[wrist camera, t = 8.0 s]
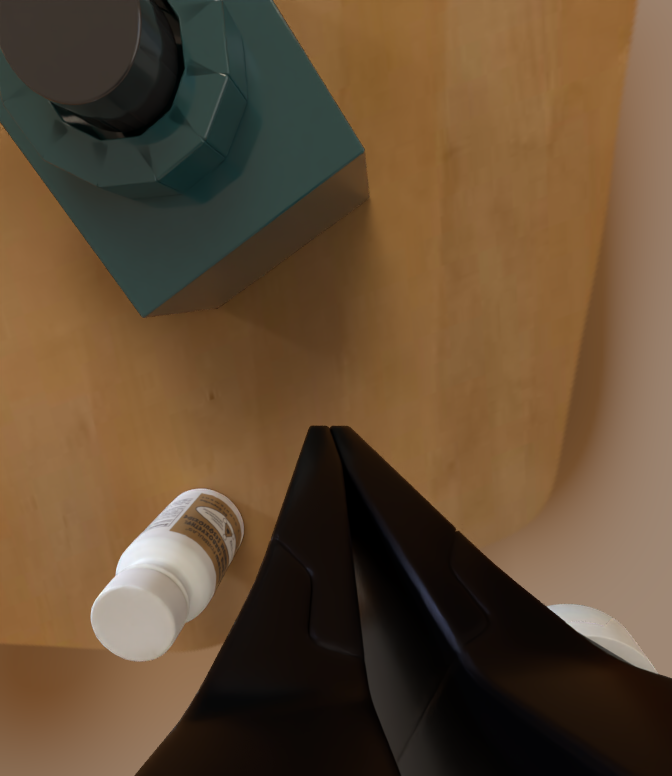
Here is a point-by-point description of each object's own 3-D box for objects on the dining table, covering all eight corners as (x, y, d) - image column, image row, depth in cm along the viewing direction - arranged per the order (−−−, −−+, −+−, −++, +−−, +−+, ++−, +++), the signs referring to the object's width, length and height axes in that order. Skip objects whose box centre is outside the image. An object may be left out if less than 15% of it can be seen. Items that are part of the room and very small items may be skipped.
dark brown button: (205, 76, 12) (171, 35, 10) (108, 160, 13) (58, 137, 11) (123, -50, 12) (71, -119, 10) (27, 44, 12) (-40, -2, 10)
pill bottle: (260, 540, 25) (208, 650, 17) (194, 570, 26) (118, 687, 18) (219, 473, 24) (146, 556, 17) (153, 506, 25) (55, 600, 17)
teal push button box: (370, 197, 20) (363, 129, 12) (216, 309, 22) (111, 323, 13) (228, -31, 19) (99, -302, 10) (76, 108, 21) (-145, -23, 12)
